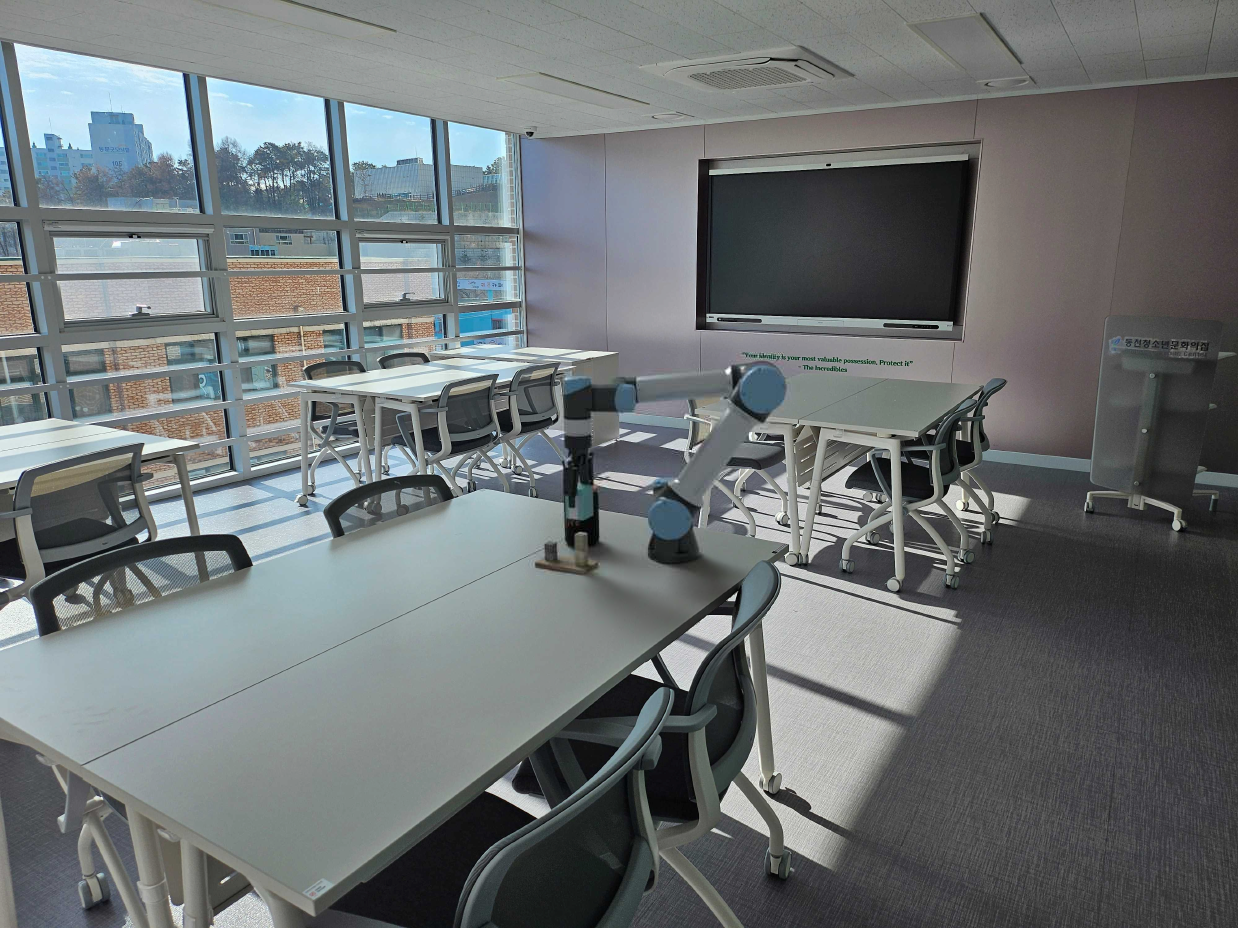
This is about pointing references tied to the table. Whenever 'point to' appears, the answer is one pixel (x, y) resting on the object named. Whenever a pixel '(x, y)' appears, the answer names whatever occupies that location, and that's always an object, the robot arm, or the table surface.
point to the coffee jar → (584, 523)
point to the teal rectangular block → (583, 501)
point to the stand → (568, 563)
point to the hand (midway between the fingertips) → (579, 515)
